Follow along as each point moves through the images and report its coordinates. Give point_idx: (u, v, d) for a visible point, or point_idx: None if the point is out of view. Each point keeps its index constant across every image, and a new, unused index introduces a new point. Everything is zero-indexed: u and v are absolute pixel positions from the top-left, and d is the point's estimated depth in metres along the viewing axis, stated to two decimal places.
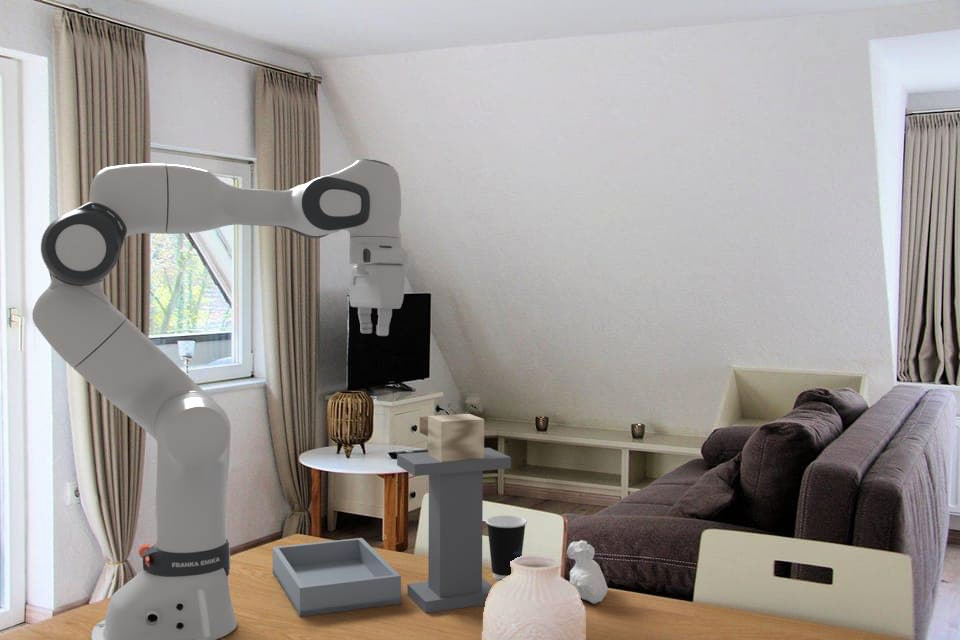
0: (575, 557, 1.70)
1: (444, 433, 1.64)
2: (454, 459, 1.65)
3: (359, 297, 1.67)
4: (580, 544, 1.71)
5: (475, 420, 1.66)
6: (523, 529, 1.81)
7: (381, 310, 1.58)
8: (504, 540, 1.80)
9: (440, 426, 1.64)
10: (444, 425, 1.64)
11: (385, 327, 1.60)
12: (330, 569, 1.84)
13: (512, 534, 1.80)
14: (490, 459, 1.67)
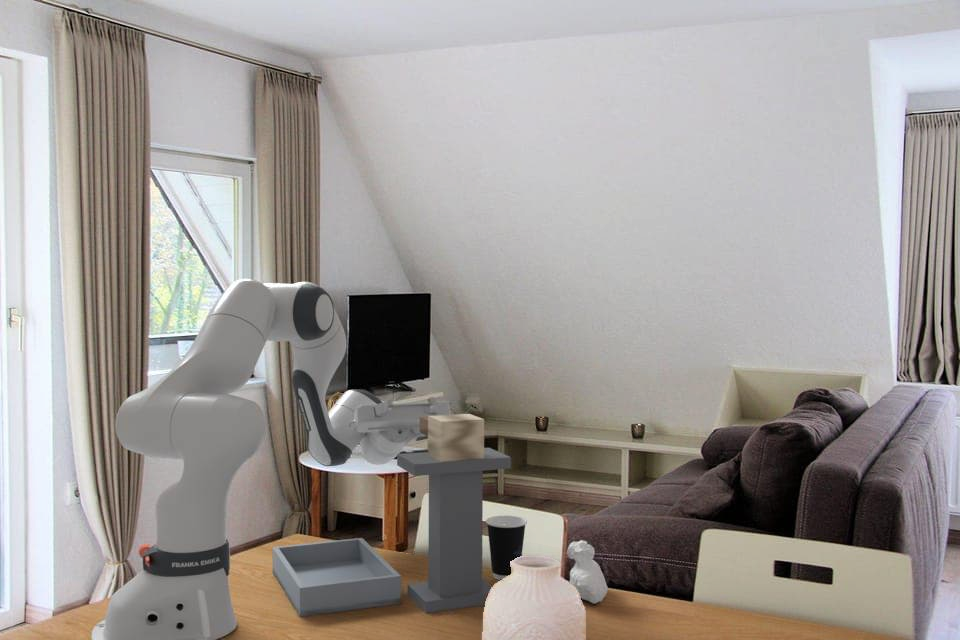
0: (575, 557, 1.70)
1: (444, 433, 1.64)
2: (454, 459, 1.65)
3: None
4: (580, 544, 1.71)
5: (475, 420, 1.66)
6: (523, 529, 1.81)
7: None
8: (504, 540, 1.80)
9: (440, 426, 1.64)
10: (444, 425, 1.64)
11: None
12: (330, 569, 1.84)
13: (512, 534, 1.80)
14: (490, 459, 1.67)
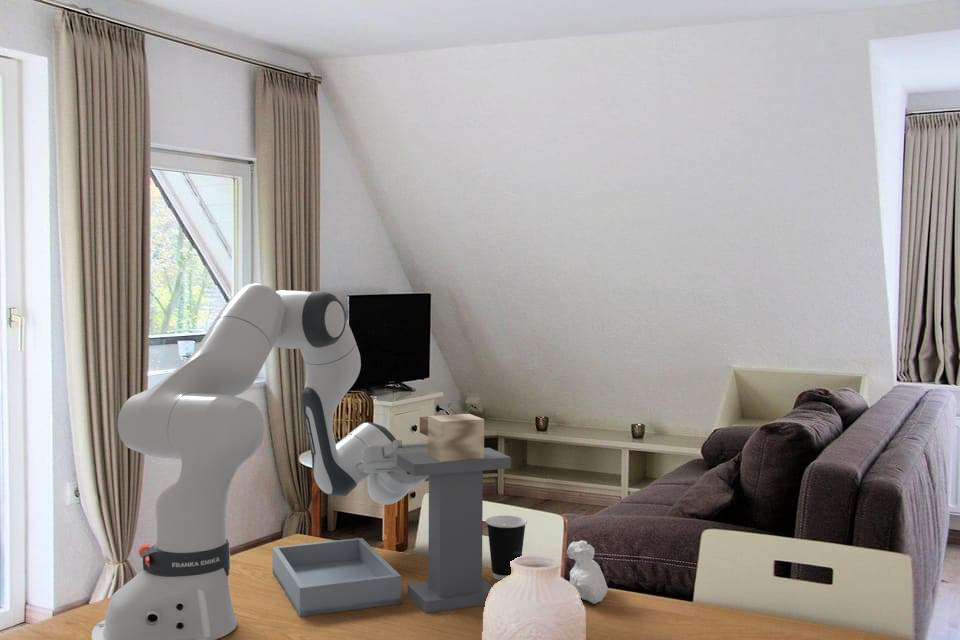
0: (575, 557, 1.70)
1: (444, 433, 1.64)
2: (454, 459, 1.65)
3: None
4: (580, 544, 1.71)
5: (475, 420, 1.66)
6: (523, 529, 1.81)
7: None
8: (504, 540, 1.80)
9: (440, 426, 1.64)
10: (444, 425, 1.64)
11: None
12: (330, 569, 1.84)
13: (512, 534, 1.80)
14: (490, 459, 1.67)
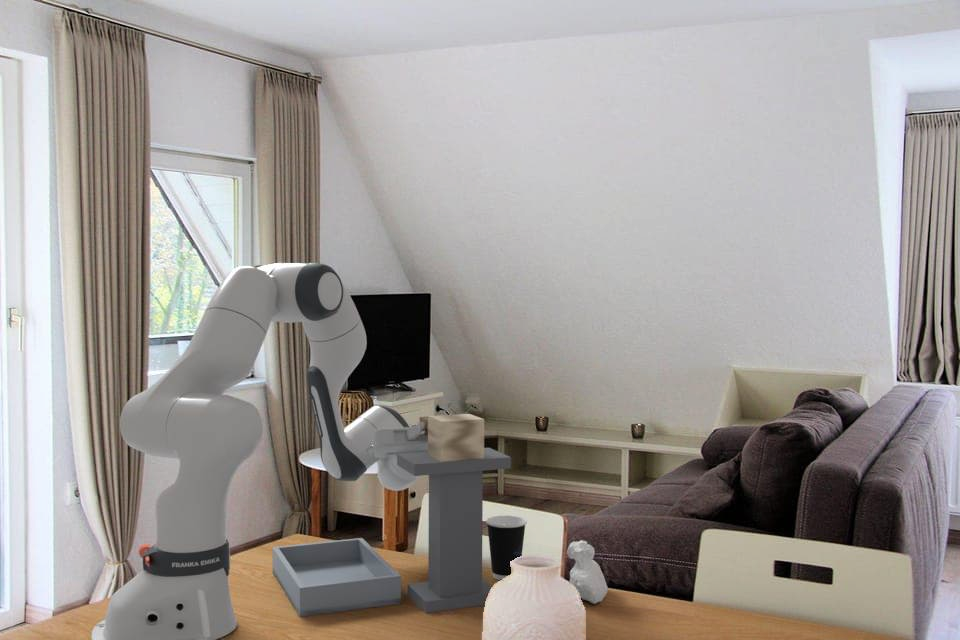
0: (575, 557, 1.70)
1: (444, 433, 1.64)
2: (454, 459, 1.65)
3: None
4: (580, 544, 1.71)
5: (475, 420, 1.66)
6: (523, 529, 1.81)
7: None
8: (504, 540, 1.80)
9: (440, 426, 1.64)
10: (445, 425, 1.64)
11: None
12: (330, 569, 1.84)
13: (512, 534, 1.80)
14: (490, 459, 1.67)
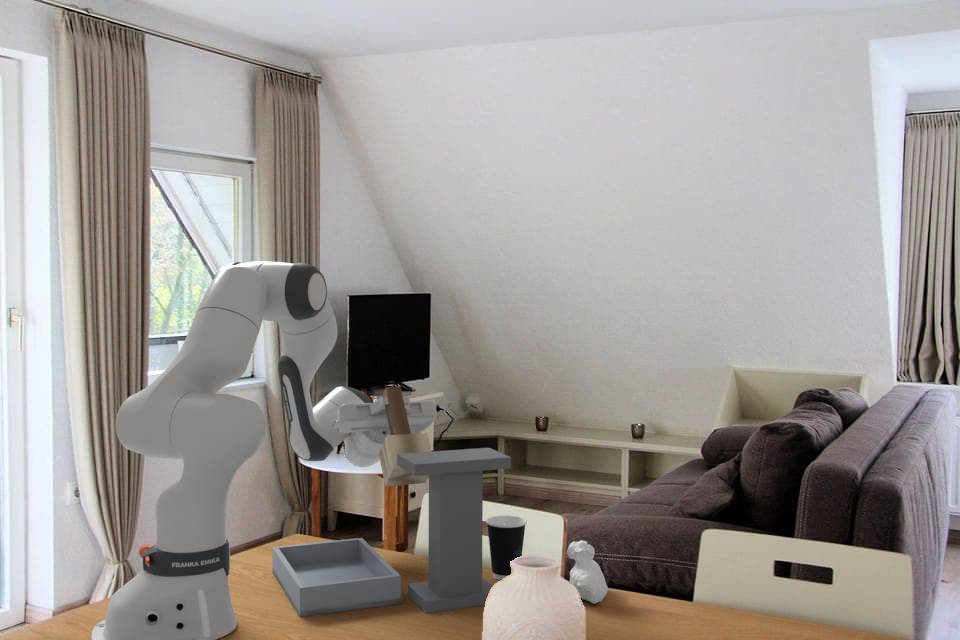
0: (575, 557, 1.70)
1: (394, 473, 1.76)
2: (398, 484, 1.80)
3: None
4: (580, 544, 1.71)
5: None
6: (523, 529, 1.81)
7: None
8: (504, 540, 1.80)
9: (392, 468, 1.75)
10: (396, 469, 1.75)
11: None
12: (330, 569, 1.84)
13: (512, 534, 1.80)
14: (490, 459, 1.67)
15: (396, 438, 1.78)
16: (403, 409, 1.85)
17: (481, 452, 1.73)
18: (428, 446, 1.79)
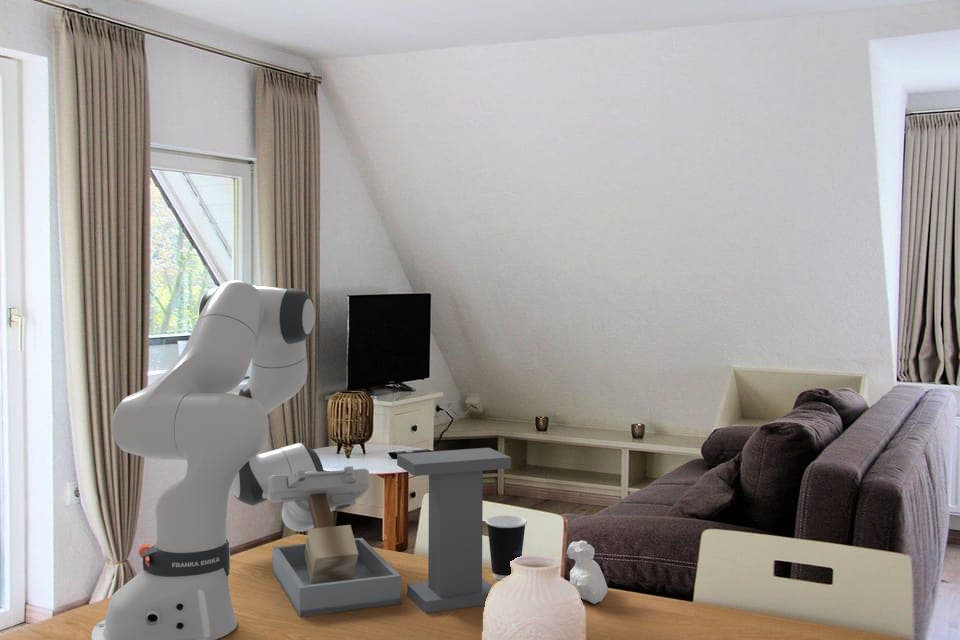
0: (575, 557, 1.70)
1: (317, 565, 1.73)
2: (324, 580, 1.76)
3: None
4: (580, 544, 1.71)
5: (349, 554, 1.74)
6: (523, 529, 1.81)
7: (353, 472, 1.88)
8: (504, 540, 1.80)
9: (314, 559, 1.73)
10: (318, 560, 1.72)
11: None
12: None
13: (512, 534, 1.80)
14: (490, 459, 1.67)
15: (318, 531, 1.77)
16: (326, 507, 1.85)
17: (481, 452, 1.73)
18: (351, 536, 1.78)
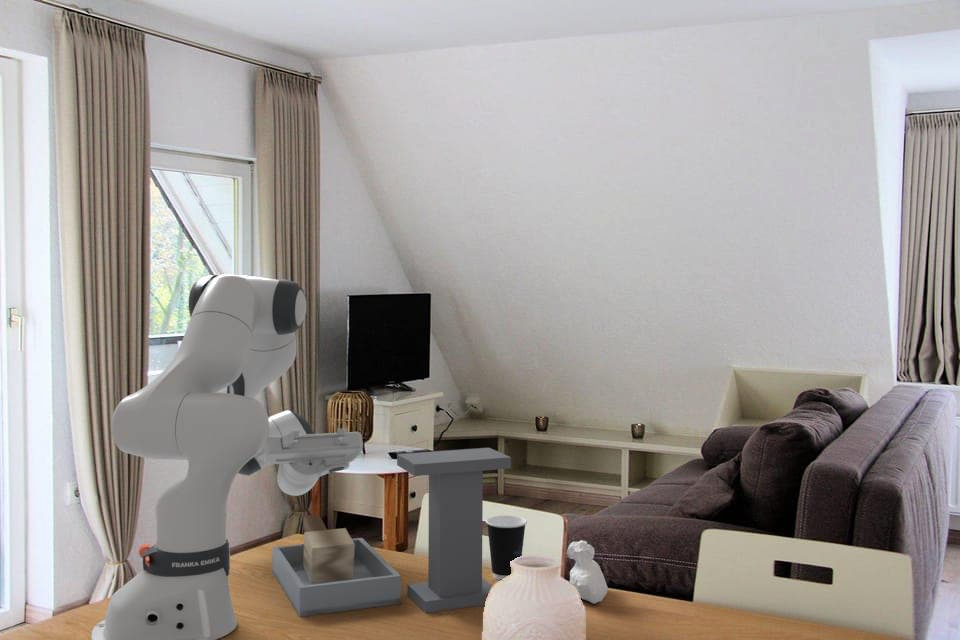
0: (575, 557, 1.70)
1: (315, 558, 1.75)
2: (324, 580, 1.77)
3: None
4: (580, 544, 1.71)
5: (346, 545, 1.77)
6: (523, 529, 1.81)
7: (346, 435, 1.93)
8: (504, 540, 1.80)
9: (311, 551, 1.75)
10: (315, 551, 1.75)
11: None
12: None
13: (512, 534, 1.80)
14: (490, 459, 1.67)
15: (314, 533, 1.80)
16: (322, 524, 1.89)
17: (481, 452, 1.73)
18: (347, 534, 1.81)
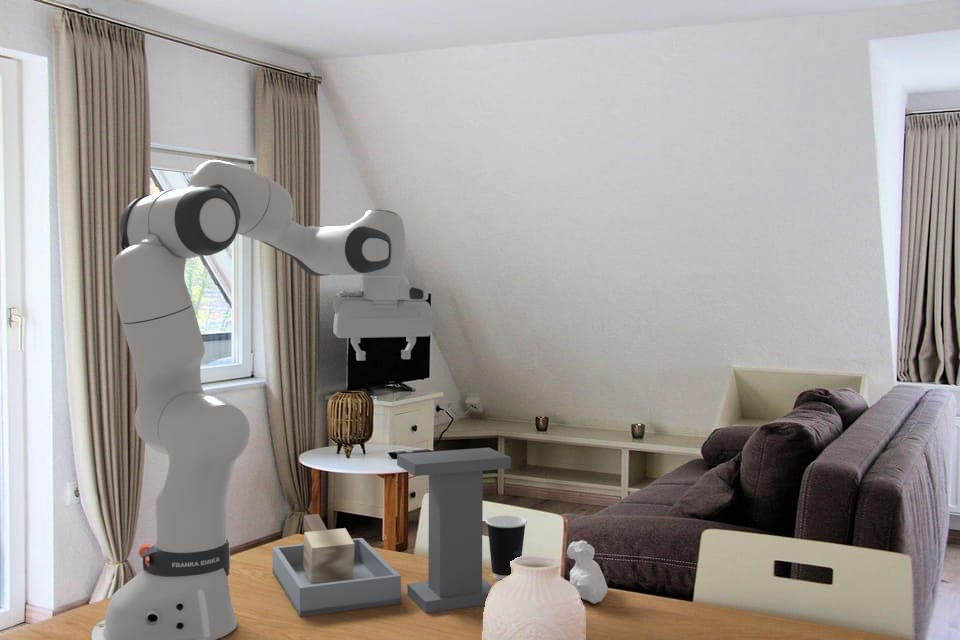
0: (575, 557, 1.70)
1: (315, 558, 1.75)
2: (324, 580, 1.77)
3: (371, 328, 1.89)
4: (580, 544, 1.71)
5: (346, 545, 1.77)
6: (523, 529, 1.81)
7: (415, 338, 1.93)
8: (504, 540, 1.80)
9: (311, 551, 1.75)
10: (315, 551, 1.75)
11: None
12: None
13: (512, 534, 1.80)
14: (490, 459, 1.67)
15: (314, 533, 1.80)
16: (322, 524, 1.89)
17: (481, 452, 1.73)
18: (347, 534, 1.81)
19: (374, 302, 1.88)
